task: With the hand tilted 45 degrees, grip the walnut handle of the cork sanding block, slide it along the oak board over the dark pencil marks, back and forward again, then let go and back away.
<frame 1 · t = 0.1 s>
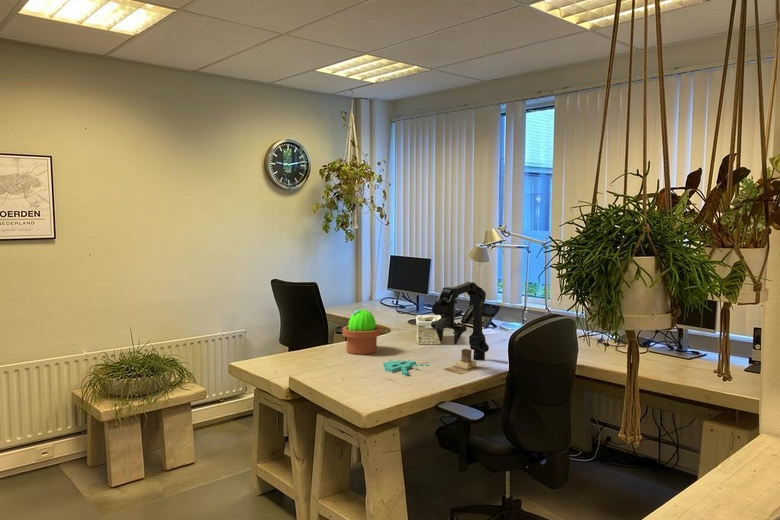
hand: (448, 343, 289), 15 cm above the table, tool pointing down, fingers open, 9 cm apart
alien figure: (402, 369, 296), on the table
storage basket: (428, 341, 360), on the table
oak board: (462, 371, 291), on the table
sanding block: (466, 367, 294), point 1 cm above the table, touching oak board
potted cactus: (361, 351, 331), on the table
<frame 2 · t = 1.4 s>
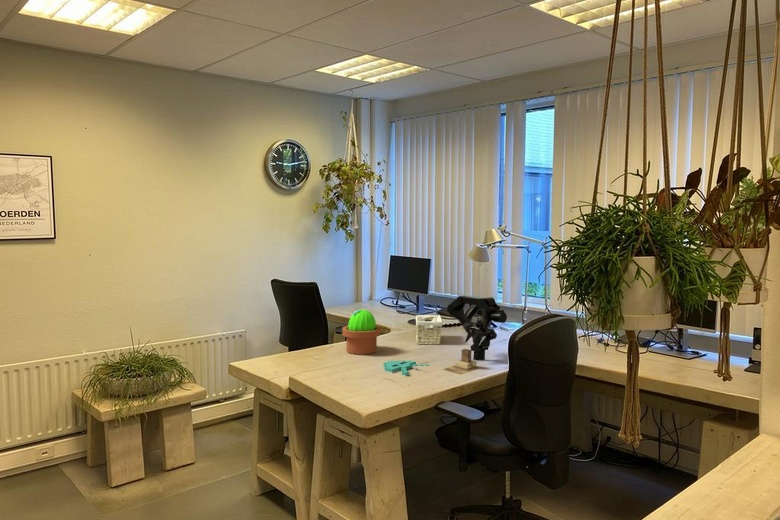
hand: (472, 343, 297), 13 cm above the table, tool tilted 45°, fingers open, 9 cm apart
nothing on the table moved.
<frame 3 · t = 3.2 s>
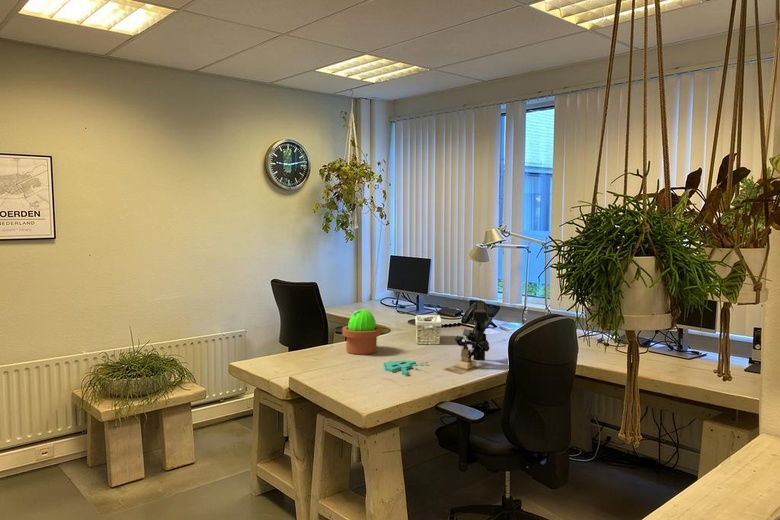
hand: (464, 356, 292), 7 cm above the table, tool tilted 45°, fingers closed on sanding block, 4 cm apart
sanding block: (466, 367, 294), point 1 cm above the table, touching gripper, oak board
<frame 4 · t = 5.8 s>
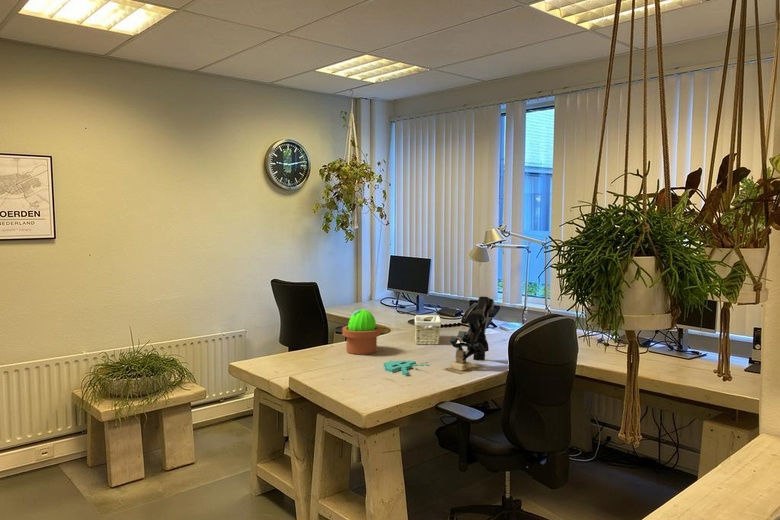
hand: (459, 358, 289), 7 cm above the table, tool tilted 45°, fingers closed on sanding block, 4 cm apart
sanding block: (460, 368, 291), point 2 cm above the table, touching gripper
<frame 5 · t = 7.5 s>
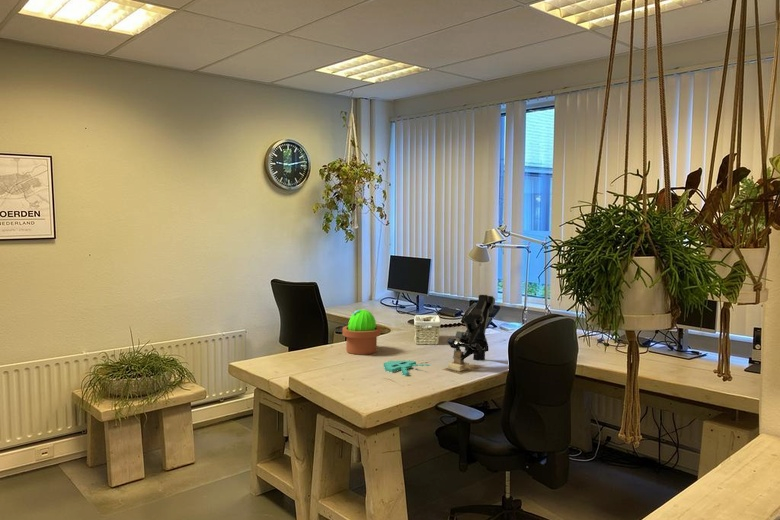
hand: (457, 359, 288), 7 cm above the table, tool tilted 45°, fingers closed on sanding block, 4 cm apart
sanding block: (458, 369, 289), point 2 cm above the table, touching gripper
when the fingers open (7 cm above the table, at t = 8.4 s): sanding block stays where it is, resting on oak board.
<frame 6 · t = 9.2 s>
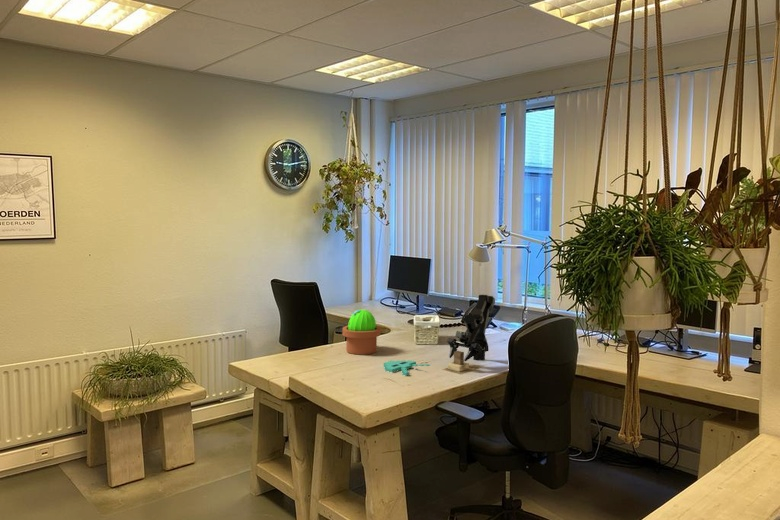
hand: (457, 359, 288), 7 cm above the table, tool tilted 45°, fingers open, 9 cm apart
sanding block: (458, 369, 289), point 2 cm above the table, touching oak board
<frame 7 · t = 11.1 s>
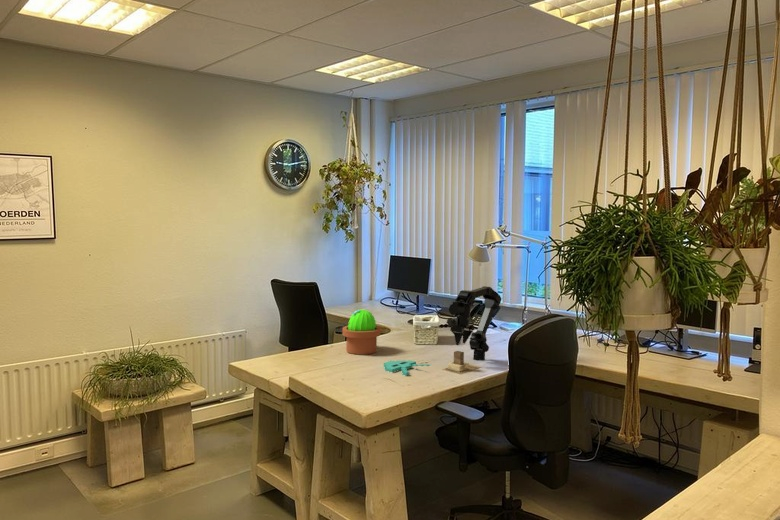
hand: (460, 344, 299), 12 cm above the table, tool pointing down, fingers open, 9 cm apart
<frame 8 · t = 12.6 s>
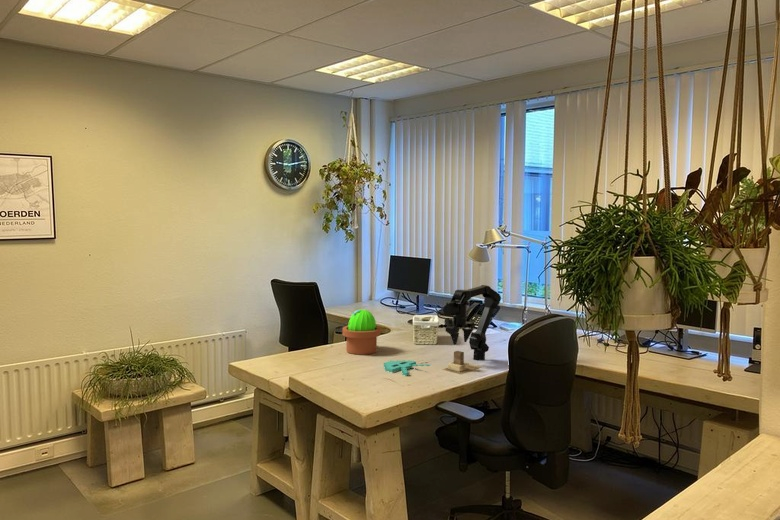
hand: (460, 343, 301), 12 cm above the table, tool pointing down, fingers open, 9 cm apart
at the end: sanding block 0.3 cm from the target spot on the oak board, point 1.5 cm above the oak board's base; sanding block tilted 0°; the gripper is holding nothing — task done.
